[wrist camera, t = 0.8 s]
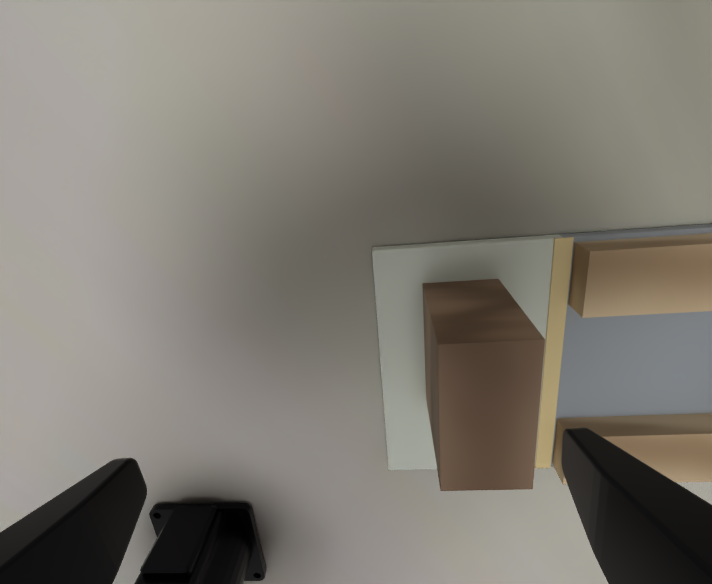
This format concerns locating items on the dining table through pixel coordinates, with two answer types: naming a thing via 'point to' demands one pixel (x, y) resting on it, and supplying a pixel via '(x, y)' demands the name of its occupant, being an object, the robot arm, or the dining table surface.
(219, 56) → the dining table surface
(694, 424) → the rails
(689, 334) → the door board
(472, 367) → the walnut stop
